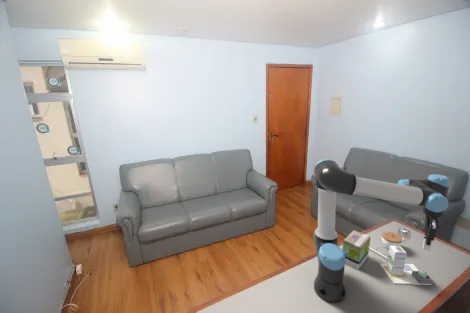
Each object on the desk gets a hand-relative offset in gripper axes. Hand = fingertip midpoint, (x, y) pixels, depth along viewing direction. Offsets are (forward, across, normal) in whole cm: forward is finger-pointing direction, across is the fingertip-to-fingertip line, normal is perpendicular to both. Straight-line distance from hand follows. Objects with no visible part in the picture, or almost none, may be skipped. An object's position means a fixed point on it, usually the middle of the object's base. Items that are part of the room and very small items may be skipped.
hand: (426, 249), depth 111 cm
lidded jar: (+19, +24, +12) cm, 33 cm away
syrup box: (+18, 0, +11) cm, 21 cm away
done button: (+17, 0, 0) cm, 17 cm away
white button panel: (+19, +1, +7) cm, 20 cm away
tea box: (+19, +1, +31) cm, 36 cm away
